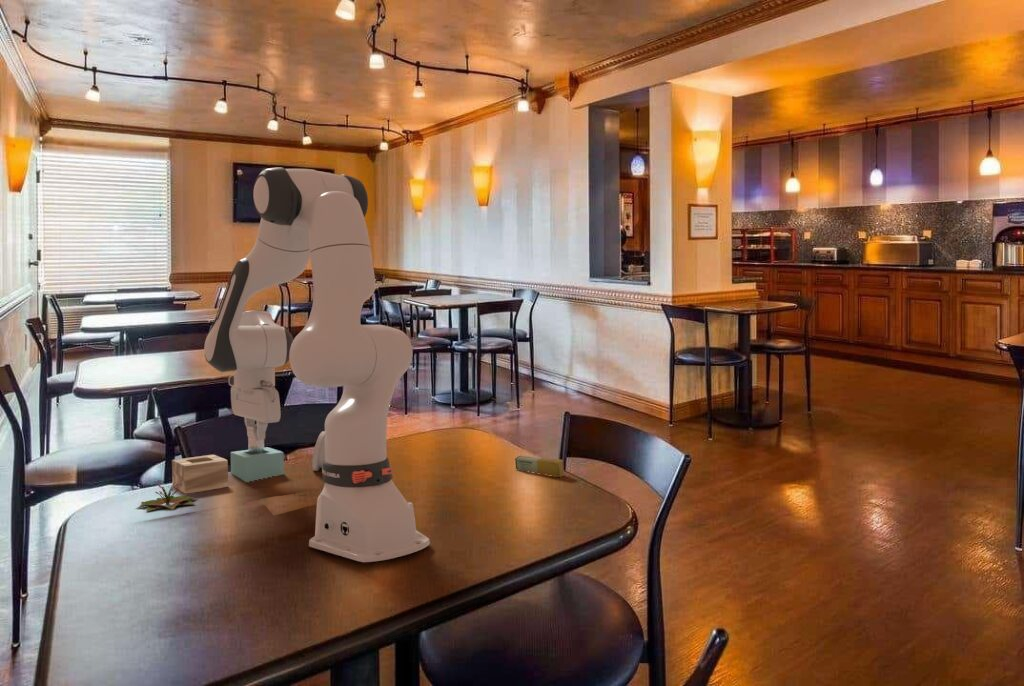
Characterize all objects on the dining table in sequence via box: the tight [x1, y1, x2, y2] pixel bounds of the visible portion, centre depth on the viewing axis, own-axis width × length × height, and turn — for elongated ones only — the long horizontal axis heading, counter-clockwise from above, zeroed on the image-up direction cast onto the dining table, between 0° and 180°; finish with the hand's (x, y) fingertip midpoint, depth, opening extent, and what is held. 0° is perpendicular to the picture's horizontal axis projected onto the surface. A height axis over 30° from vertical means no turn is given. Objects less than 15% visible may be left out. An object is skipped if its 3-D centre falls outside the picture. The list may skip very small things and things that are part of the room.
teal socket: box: [230, 446, 285, 483], centre depth 164 cm, size 9×9×6 cm
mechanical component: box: [311, 430, 325, 472], centre depth 169 cm, size 10×4×10 cm, turn 179°
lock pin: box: [247, 424, 265, 455], centre depth 164 cm, size 4×4×9 cm
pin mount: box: [171, 454, 229, 495], centre depth 155 cm, size 9×9×6 cm
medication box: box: [514, 455, 565, 478], centre depth 164 cm, size 12×3×4 cm, turn 58°
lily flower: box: [135, 482, 197, 512], centre depth 141 cm, size 12×12×5 cm
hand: (256, 437), depth 164 cm, fingers closed on lock pin, 3 cm apart
